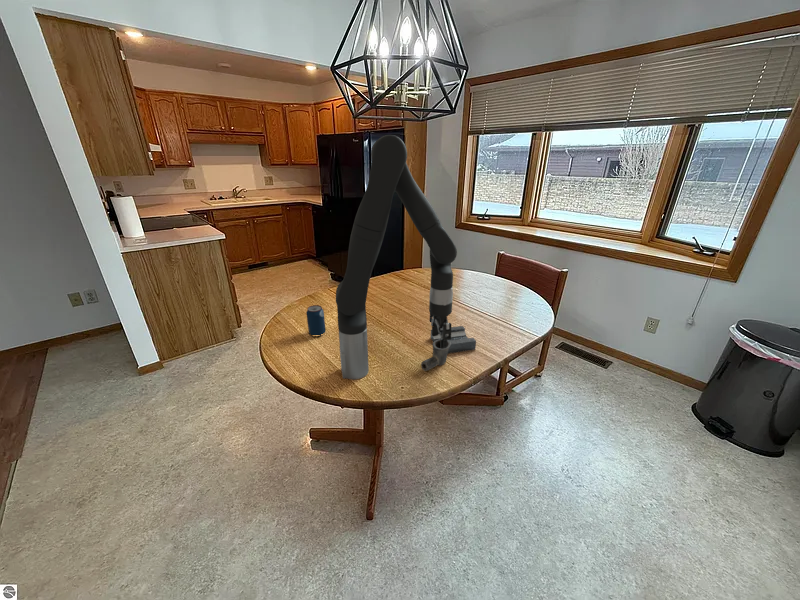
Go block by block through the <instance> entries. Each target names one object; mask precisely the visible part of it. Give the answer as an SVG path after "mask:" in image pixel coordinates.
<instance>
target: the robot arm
mask: <svg viewBox="0 0 800 600" xmlns="http://www.w3.org/2000/svg"><path fill="white" fill-rule="evenodd" d="M407 150H408V149H407V147H406V144H405V143H404V141H403V140H402V139H401V138H400V137H399V136H397V135H394V134H386V135H383V136H381V137H380V138H378V139H376V140H375V142H374V143H373V145H372V146H371V150H370V159H371V163H370V164H371V165H370V172H369V176H368V181H367V187H366V190H365V193H364V194H363V197H362V199H361V201H360V204H359V206H358V209H357V212H356V214H355V217H354V221H353V225H352V229H351V234H350V236H349V237H350V238H349V244H348V251H347V252H348V253H347V254H348V255H347V262H346V263H347V266H346V269H345V273H344V277H343V280H342V281H340V282H339V283H338V285H337V287H336V289H335V303H336V308H337V309H336V310H337V327H338V339H339V354H340V355H339V356H340V357H339V358H340V368H341V375H342V379H348V380H359V379H363V378H364V377H366V376H367V375H368V373H369V369H370V368H369V347H368V346H369V345H368V343H369V342H368V325H367V324H368V322H367V321H368V320H367V307H366V306H367V305H366V304H367V298H368V297H367V296H368V292H369V291H368V290H369V285H370V280H371V276H372V272H373V270H374V268H375V264H376V262H377V259H378V256H379V254H380V250H381V247H382V244H383V241H384V238H385V233H386V230H387V226H388V222H389V218H390V217H389V216H390V214H391V208H392V204H393V203H392V202H393V197H394V195H395V193H396V194H397V196H398V198H399V199H400V201H401V204H403V207H404V208H405V211H406V212H407V215H408V216H409V217H410V219H411V221H412V223H413V224H414V227H416V229H417V231H418V233H419V234H420V236H421V237H422V238H423V239H424V241H425V242H426V244H427V246H428V247H429V262H430V271H431V273H430V274H431V275H430V288H429V289H430V290H429V301H428V302H429V304H428V305H429V306H428V308H429V309H428V311H429V323H430V326H431V330H432V336H437V335H438V332H439V333H440V337H441V341H440V347H441V349H444V348H447V340H451V327H452V322H449V320H448V316H450V315H451V314H452V313H453V300H454V298H453V297H454V292H453V291H454V289H453V285H454V284H453V283H454V273H453V269H452V267H451V266H452V265H451V263H453V262H454V261H455V260H456V258H457V255H458V250H457V246H456V244H455V243H454V241H453V240H452V238H451V237H450V234H448V232H447V230H446V229H445V228H444V227H443V224H442V222H441V220H440V218H439V217H438V214H437V212H436V210H435V209H434V207H433V206H432V204H431V203H430V201H429V199H428V198H427V197H426V195H425V193H423V191H422V189H421V188H420V187H419V185H418V184H417V182H416V180H415V179H414V177H413V175H412V172H411V171H410V169H409V165H408V164H407V160H408V151H407ZM441 328H443V330H441ZM442 332H443V334H442Z"/></svg>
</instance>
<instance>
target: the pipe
mask: <svg viewBox="0 0 800 600" xmlns="http://www.w3.org/2000/svg"><path fill="white" fill-rule="evenodd" d="M440 341H441V339H439V340H436V341H434V342H433V341H432V356H431V357H430V358H427V359H424V360H423V361H421V363H420V366H421V369H422V371H424V372H427V371H429V370H432V369H433V368H435V367H436V366H443V365H445V364H446V363H447V358H448V355H449V354H448V350H449V348H450V346H451V343H450V341H449V340H447V348H444V349H441V347H440Z"/></svg>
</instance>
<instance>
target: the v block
mask: <svg viewBox="0 0 800 600" xmlns="http://www.w3.org/2000/svg"><path fill="white" fill-rule="evenodd" d="M441 330H443V328H441ZM442 334H443V332H442ZM439 339H441V337H440V333H439V332H438V335H437V336H432V329H430V340H431V341H432V343H433V342H434V341H436V340H439ZM449 341H450V343H451V346H450V348H449V350H448V354H447V355H449V354H454V353H462V352H469V351H475V350H476V345H477V340H476V339H475V338H474V337H468V336H467V333H466V328H465V326H463V325H459V326H458V325H457V326H451V340H449Z"/></svg>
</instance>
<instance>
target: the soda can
mask: <svg viewBox="0 0 800 600" xmlns="http://www.w3.org/2000/svg"><path fill="white" fill-rule="evenodd" d="M324 311H325V310H324V309H323V307H322V305H319V304H318V305H317V304H315V305H311V306H308V307H307V310H306V321H307V329H308V330H307V331H308V334H309V335H310V334H311V335H321V334H323V333H324V334H325V333H326V331H327V330H326V320H325V312H324ZM311 335H310V336H311Z"/></svg>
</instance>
